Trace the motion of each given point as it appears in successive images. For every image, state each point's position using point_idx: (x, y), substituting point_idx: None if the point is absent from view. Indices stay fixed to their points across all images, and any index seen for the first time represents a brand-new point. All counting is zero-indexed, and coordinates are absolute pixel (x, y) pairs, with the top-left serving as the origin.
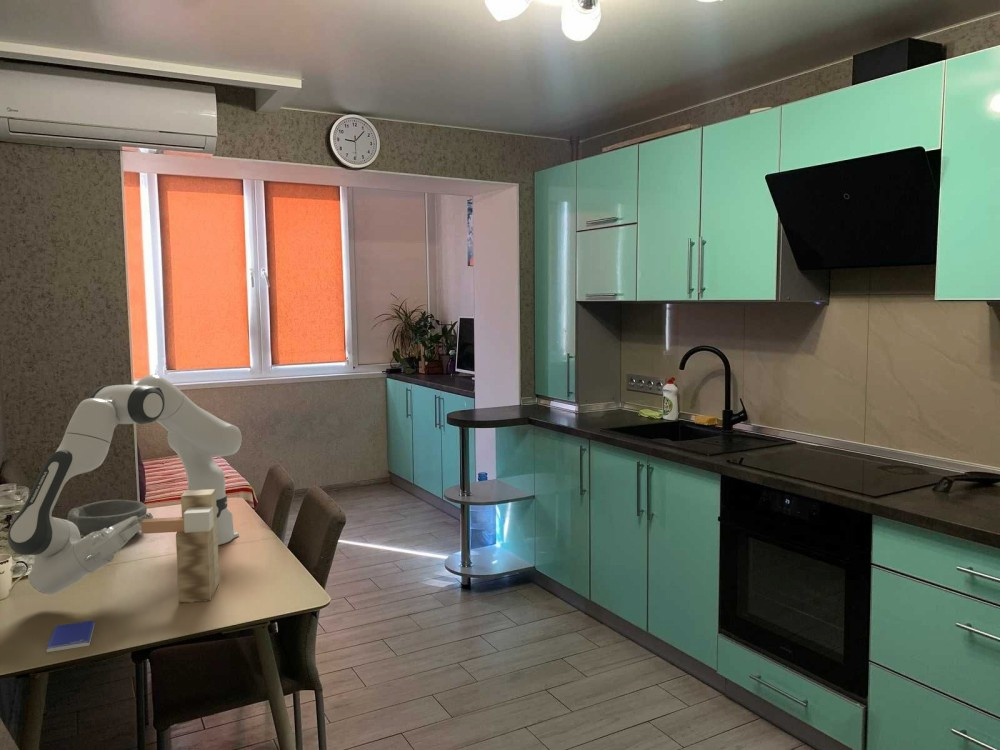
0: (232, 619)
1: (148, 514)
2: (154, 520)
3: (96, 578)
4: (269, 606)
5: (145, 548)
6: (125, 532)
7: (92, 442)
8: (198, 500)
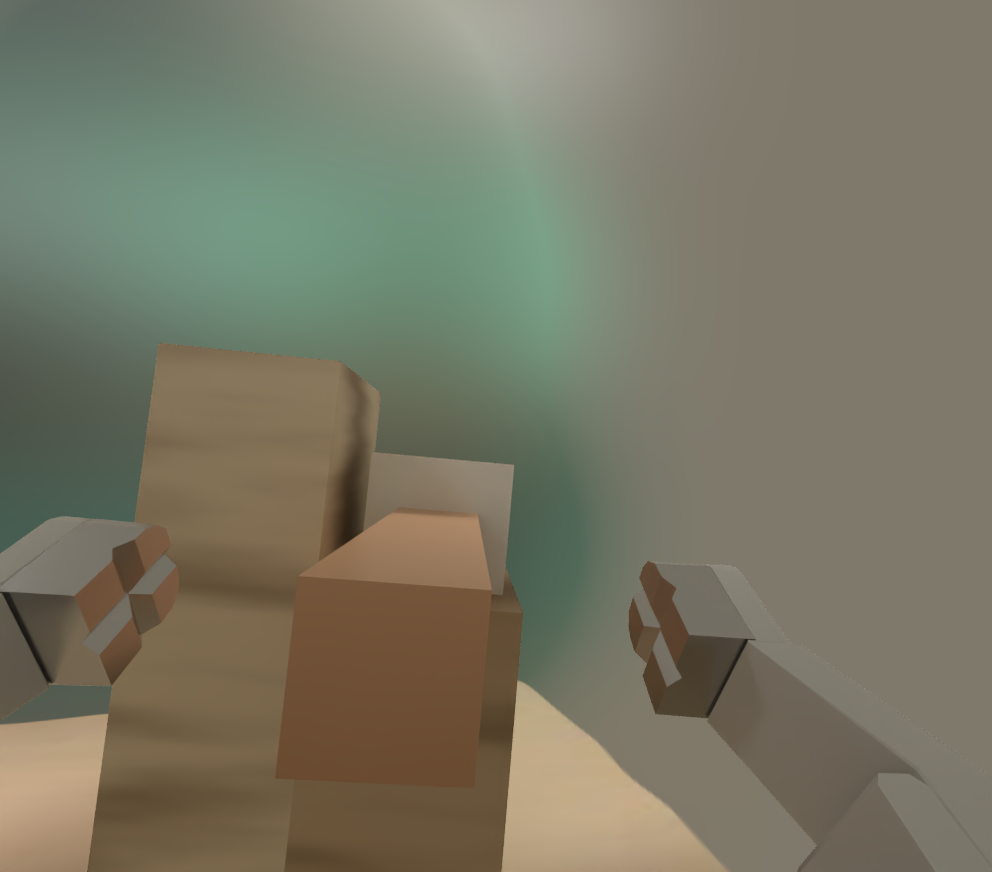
0: (666, 828)
1: (157, 528)
2: (439, 549)
3: None
4: (549, 749)
5: None
6: (935, 763)
7: None
8: (363, 415)
